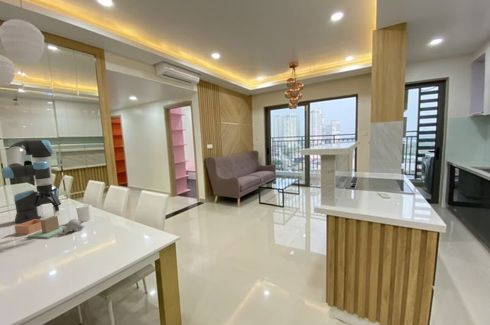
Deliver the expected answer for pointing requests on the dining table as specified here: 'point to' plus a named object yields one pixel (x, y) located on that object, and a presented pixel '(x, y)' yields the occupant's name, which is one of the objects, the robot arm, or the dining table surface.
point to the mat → (41, 238)
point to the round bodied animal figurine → (72, 226)
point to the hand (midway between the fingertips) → (48, 215)
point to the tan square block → (28, 227)
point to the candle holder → (84, 212)
